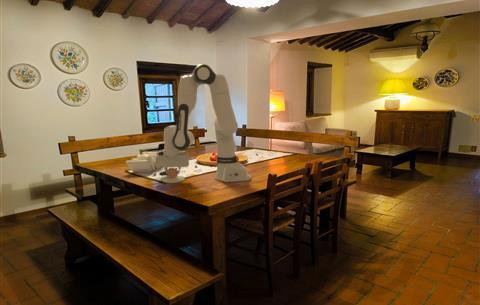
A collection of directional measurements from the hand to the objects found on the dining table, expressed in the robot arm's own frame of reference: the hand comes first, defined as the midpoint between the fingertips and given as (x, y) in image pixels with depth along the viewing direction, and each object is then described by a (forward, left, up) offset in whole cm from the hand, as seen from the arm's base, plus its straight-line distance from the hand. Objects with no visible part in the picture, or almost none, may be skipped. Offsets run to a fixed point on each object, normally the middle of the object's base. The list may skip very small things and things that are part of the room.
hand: (172, 173), depth 191 cm
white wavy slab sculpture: (+23, -32, -4) cm, 40 cm away
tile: (0, 0, -4) cm, 4 cm away
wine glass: (+7, -16, -4) cm, 18 cm away
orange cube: (0, 0, -2) cm, 2 cm away
